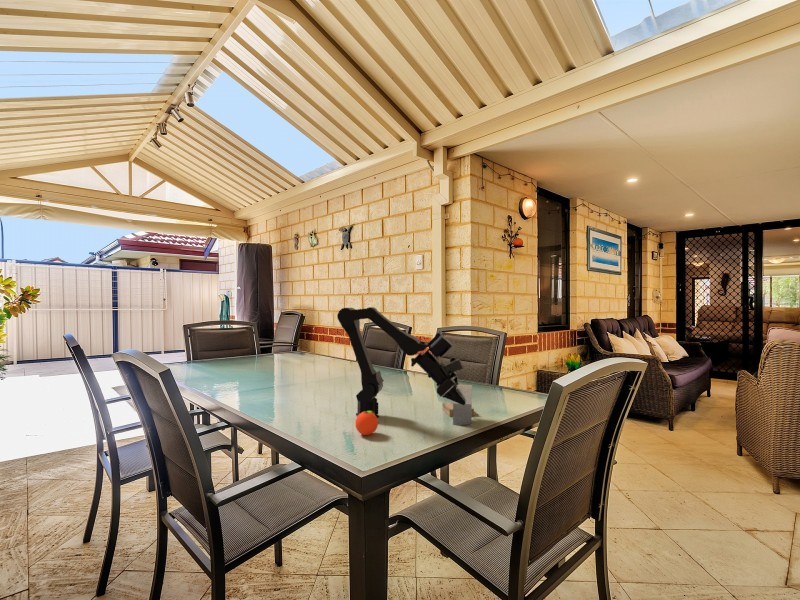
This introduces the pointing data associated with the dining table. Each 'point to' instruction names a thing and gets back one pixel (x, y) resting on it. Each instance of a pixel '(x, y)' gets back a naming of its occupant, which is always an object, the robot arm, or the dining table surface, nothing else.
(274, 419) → the dining table surface
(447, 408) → the stand
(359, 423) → the clementine
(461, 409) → the block
